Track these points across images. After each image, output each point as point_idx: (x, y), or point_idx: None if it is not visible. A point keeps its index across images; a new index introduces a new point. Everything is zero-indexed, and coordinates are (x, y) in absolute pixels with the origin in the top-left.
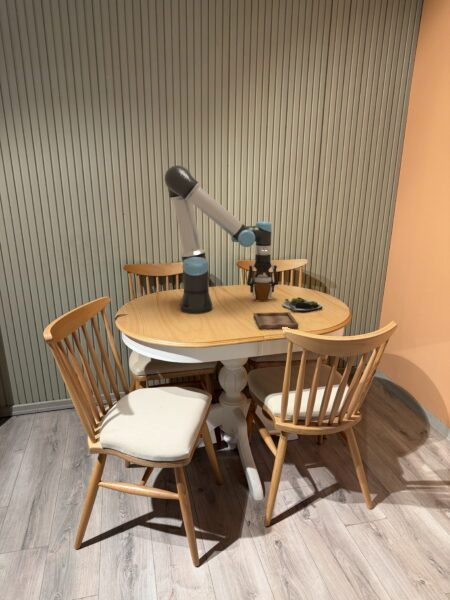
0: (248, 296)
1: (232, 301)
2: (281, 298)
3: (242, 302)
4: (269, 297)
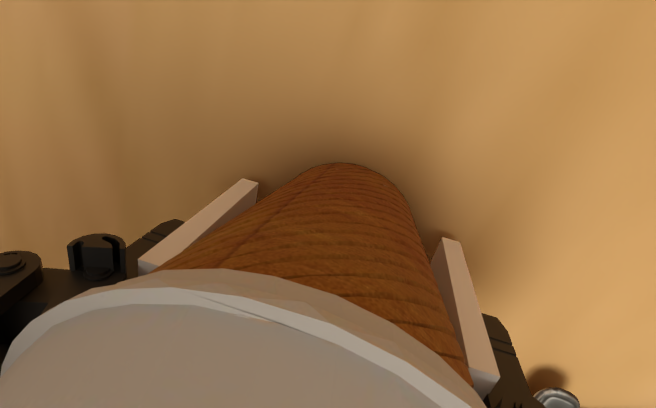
0: (236, 38)
1: (55, 175)
2: (598, 265)
3: (139, 235)
4: (437, 250)
